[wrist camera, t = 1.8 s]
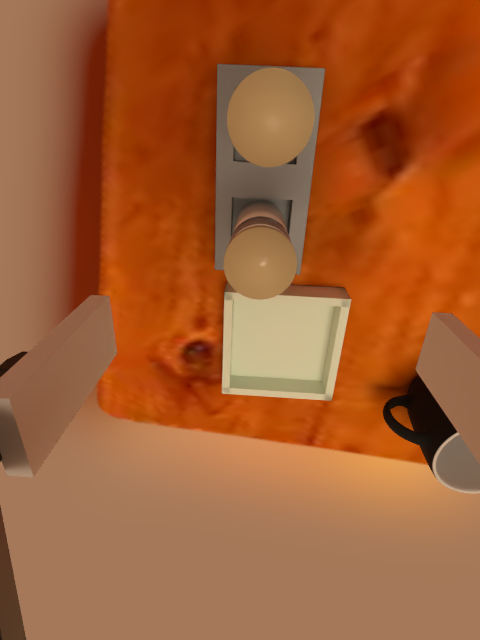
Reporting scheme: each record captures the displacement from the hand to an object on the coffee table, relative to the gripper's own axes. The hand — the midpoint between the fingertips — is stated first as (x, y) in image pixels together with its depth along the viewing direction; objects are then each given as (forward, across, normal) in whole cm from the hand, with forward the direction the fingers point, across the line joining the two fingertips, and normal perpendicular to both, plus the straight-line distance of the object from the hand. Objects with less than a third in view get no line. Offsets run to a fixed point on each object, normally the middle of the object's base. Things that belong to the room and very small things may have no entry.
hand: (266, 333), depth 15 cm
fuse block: (+22, 0, +4) cm, 22 cm away
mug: (+22, +20, -18) cm, 34 cm away
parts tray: (+22, +3, -12) cm, 25 cm away
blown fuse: (+21, 0, 0) cm, 21 cm away
